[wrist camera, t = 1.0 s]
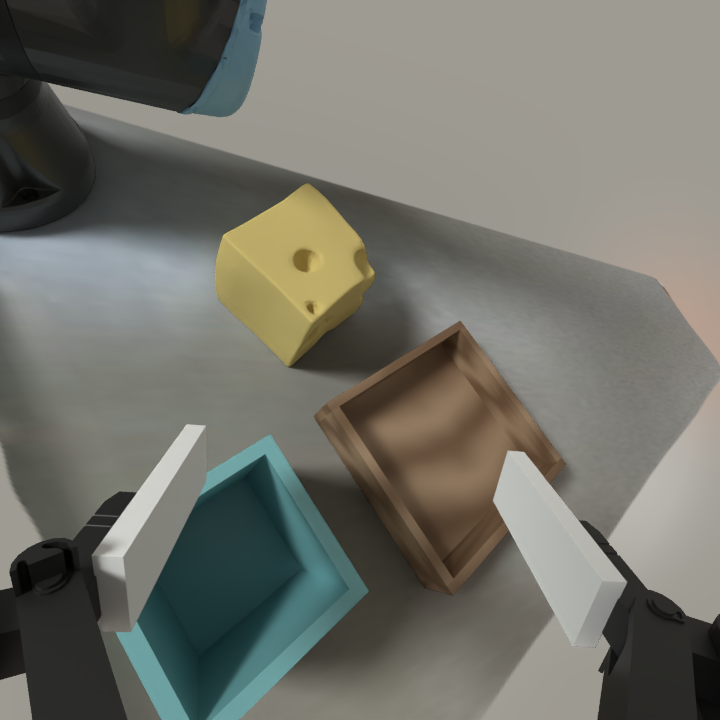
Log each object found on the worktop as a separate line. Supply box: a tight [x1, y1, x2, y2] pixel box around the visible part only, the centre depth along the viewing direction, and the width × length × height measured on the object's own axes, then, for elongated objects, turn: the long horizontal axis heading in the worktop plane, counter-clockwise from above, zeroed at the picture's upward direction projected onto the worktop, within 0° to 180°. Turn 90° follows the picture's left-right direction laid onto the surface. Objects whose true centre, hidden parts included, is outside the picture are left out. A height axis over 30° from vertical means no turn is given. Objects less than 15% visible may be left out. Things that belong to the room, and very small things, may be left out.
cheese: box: [215, 183, 375, 367], centre depth 36 cm, size 10×11×10 cm
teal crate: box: [116, 434, 369, 720], centre depth 24 cm, size 10×10×12 cm
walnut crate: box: [313, 321, 566, 595], centre depth 38 cm, size 18×18×4 cm
